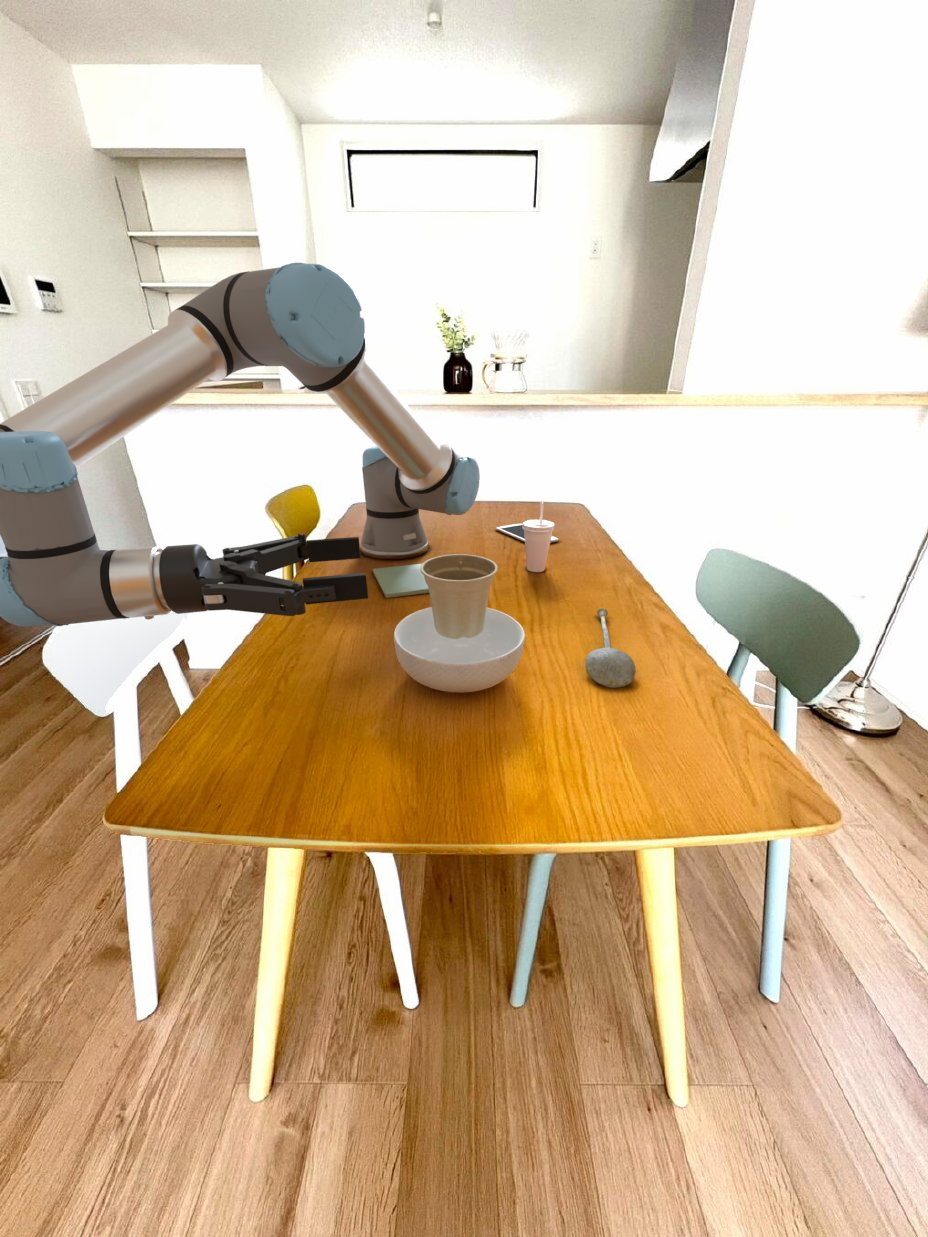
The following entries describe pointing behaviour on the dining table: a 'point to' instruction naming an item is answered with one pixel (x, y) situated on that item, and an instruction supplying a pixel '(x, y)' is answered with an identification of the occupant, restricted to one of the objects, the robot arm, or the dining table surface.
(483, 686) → the cereal bowl
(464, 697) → the dining table surface
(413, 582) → the pale green notebook
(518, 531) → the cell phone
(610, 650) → the soupspoon
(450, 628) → the flower pot
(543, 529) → the smoothie
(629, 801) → the dining table surface
